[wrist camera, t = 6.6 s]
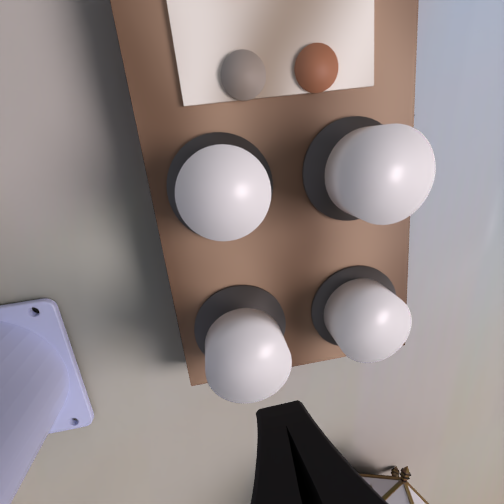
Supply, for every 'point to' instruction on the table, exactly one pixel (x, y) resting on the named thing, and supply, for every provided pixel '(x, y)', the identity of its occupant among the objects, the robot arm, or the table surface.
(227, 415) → the table surface
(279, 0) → the button board
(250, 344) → the button
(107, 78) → the table surface
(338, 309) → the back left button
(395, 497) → the game die
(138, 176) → the table surface
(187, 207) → the button
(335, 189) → the button
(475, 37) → the table surface
